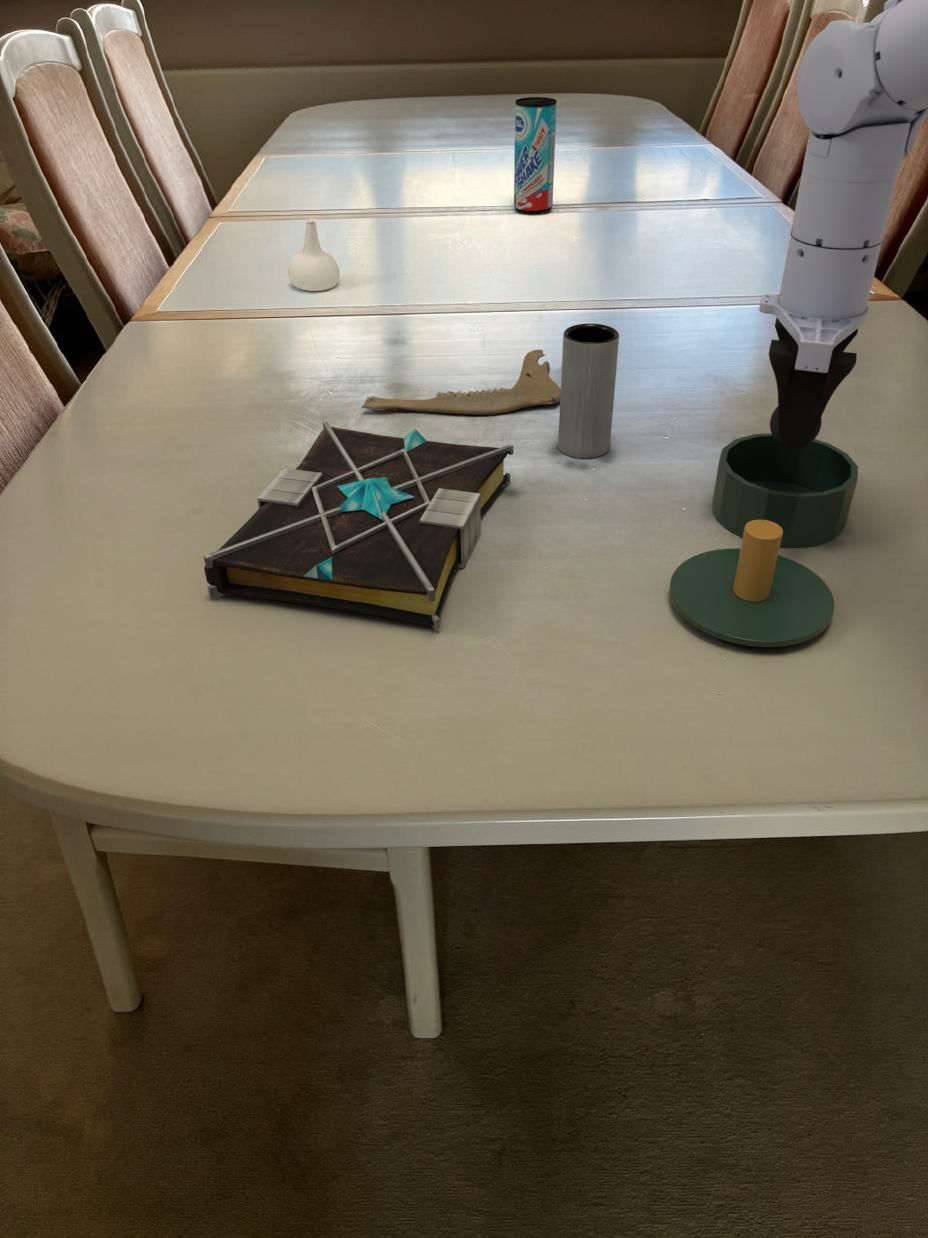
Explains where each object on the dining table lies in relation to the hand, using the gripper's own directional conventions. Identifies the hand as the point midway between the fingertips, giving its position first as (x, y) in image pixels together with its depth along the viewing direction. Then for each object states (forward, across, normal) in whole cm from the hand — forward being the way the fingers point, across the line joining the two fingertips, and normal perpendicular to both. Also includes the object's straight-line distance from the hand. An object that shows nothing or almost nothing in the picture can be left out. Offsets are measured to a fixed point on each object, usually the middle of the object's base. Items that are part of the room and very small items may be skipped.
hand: (795, 427), depth 71 cm
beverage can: (+8, -80, -42) cm, 91 cm away
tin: (+7, 0, 0) cm, 7 cm away
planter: (+8, -6, -17) cm, 20 cm away
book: (+8, +12, -29) cm, 32 cm away
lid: (+7, +13, -1) cm, 15 cm away
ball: (0, 0, 0) cm, 0 cm away
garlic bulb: (+8, -40, -59) cm, 71 cm away
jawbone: (+8, -14, -31) cm, 35 cm away
